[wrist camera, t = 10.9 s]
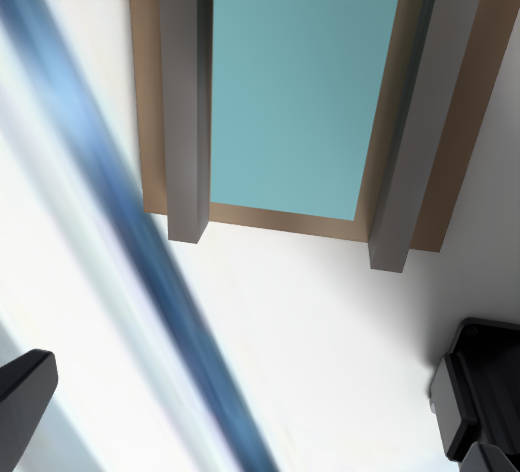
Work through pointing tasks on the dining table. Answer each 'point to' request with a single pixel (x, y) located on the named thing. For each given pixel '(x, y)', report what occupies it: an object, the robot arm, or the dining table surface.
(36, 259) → the dining table surface
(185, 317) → the dining table surface
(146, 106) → the rail board
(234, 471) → the dining table surface
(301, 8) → the teal rectangular block
